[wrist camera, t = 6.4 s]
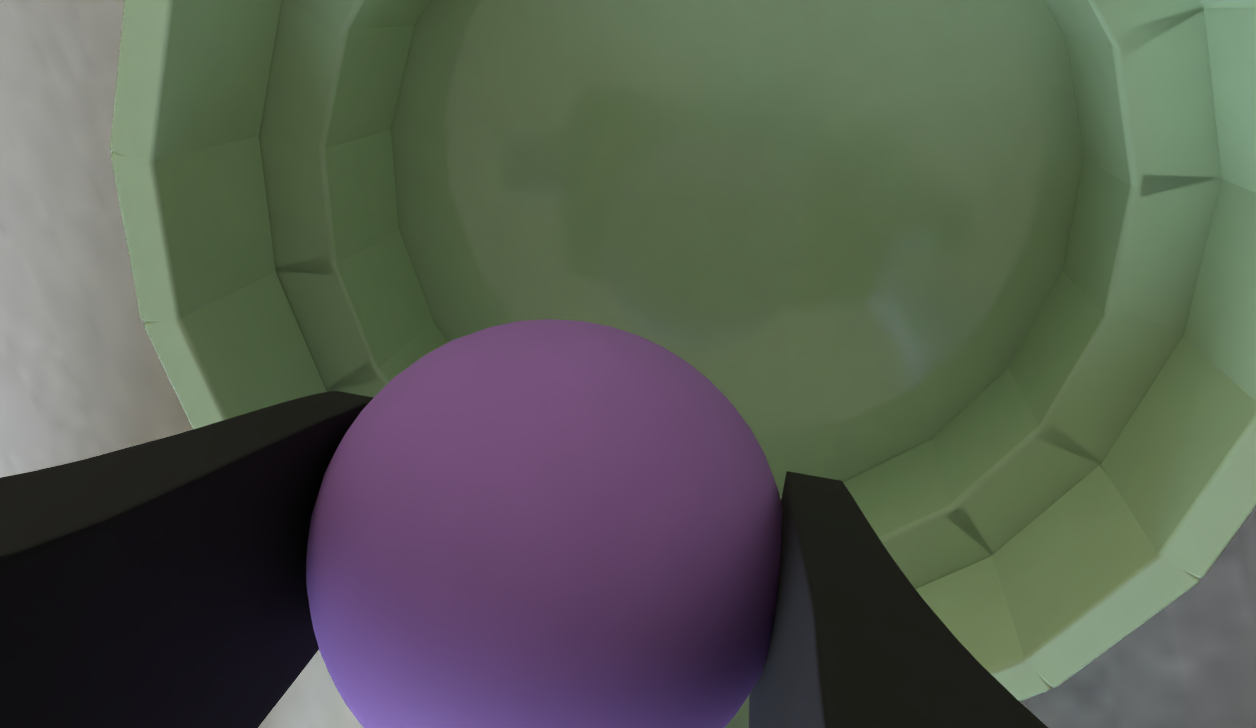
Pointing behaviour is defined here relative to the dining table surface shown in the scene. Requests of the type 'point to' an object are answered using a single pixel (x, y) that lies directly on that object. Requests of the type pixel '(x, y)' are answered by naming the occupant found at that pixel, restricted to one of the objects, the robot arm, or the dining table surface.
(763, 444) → the bowl
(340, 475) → the lavender ball
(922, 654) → the robot arm
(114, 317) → the dining table surface
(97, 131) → the dining table surface
